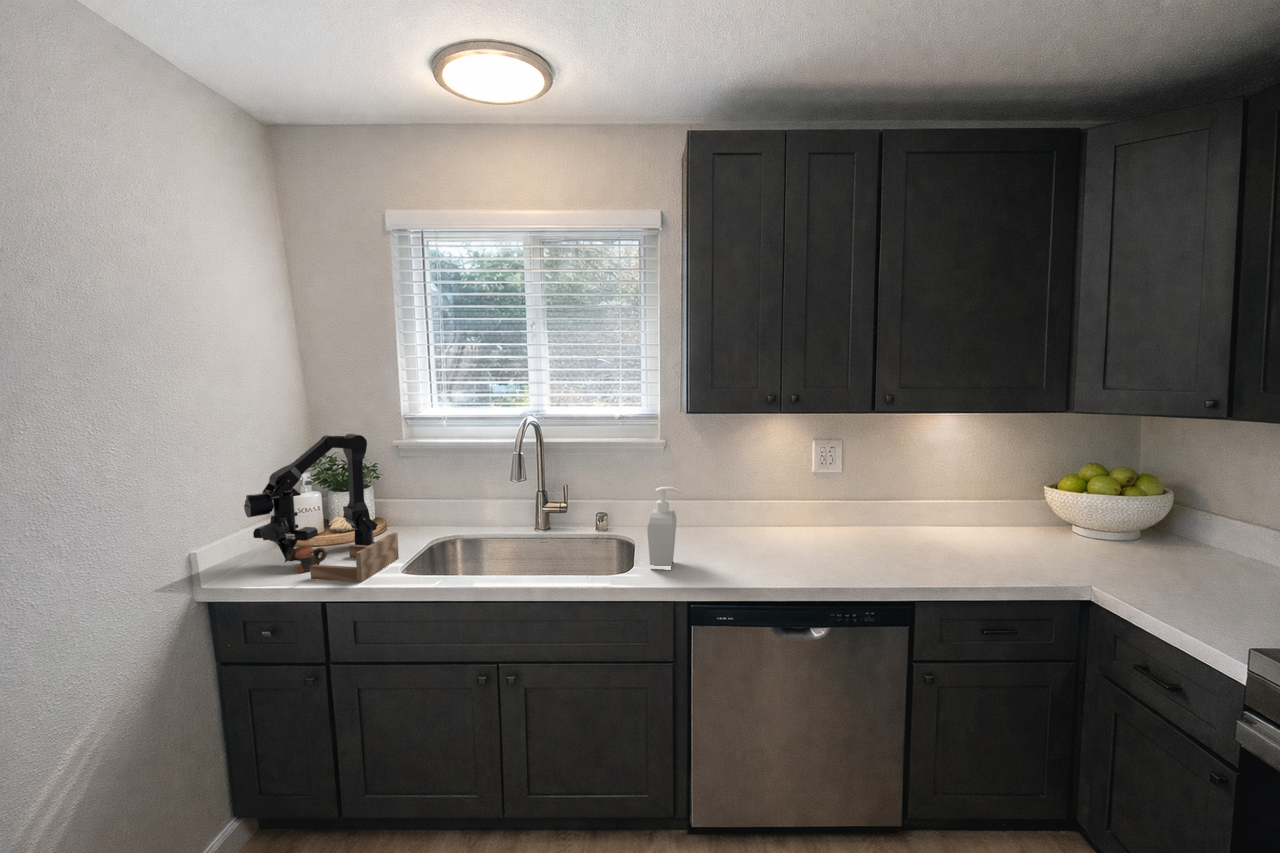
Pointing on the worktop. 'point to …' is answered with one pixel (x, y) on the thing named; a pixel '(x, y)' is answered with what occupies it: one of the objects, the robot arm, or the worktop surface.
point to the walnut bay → (361, 561)
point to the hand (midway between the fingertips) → (287, 558)
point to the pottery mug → (306, 557)
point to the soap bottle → (662, 531)
